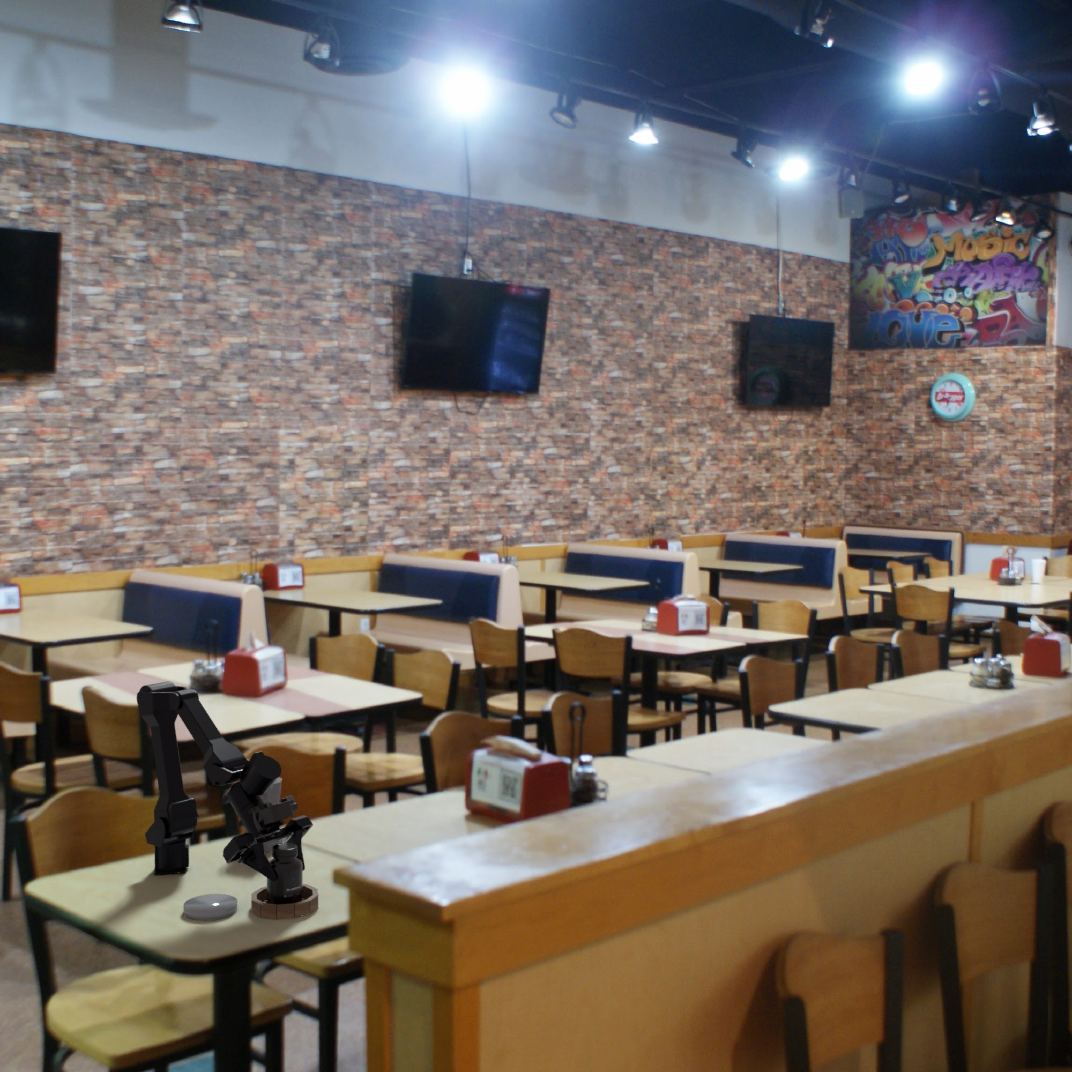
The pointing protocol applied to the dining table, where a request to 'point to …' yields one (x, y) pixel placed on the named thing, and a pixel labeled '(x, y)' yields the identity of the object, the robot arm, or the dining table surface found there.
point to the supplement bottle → (285, 875)
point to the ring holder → (284, 909)
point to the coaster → (210, 907)
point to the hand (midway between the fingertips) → (289, 875)
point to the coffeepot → (273, 798)
